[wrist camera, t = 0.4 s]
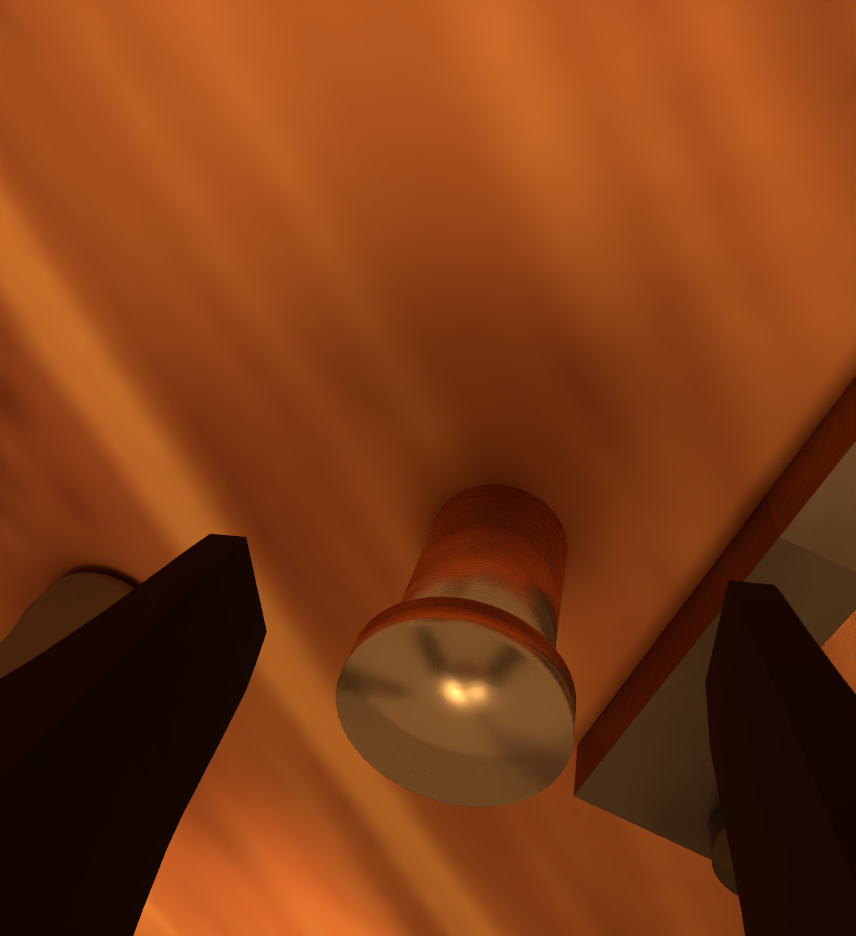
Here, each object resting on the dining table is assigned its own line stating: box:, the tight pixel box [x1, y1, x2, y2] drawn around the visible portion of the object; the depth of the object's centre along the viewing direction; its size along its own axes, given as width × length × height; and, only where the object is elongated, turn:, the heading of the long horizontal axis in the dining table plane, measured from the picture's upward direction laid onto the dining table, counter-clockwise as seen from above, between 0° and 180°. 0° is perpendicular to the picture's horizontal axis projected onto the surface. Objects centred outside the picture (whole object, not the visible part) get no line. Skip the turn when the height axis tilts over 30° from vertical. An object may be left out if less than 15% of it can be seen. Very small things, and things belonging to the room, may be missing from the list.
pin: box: [336, 485, 576, 807], centre depth 19 cm, size 5×5×7 cm
